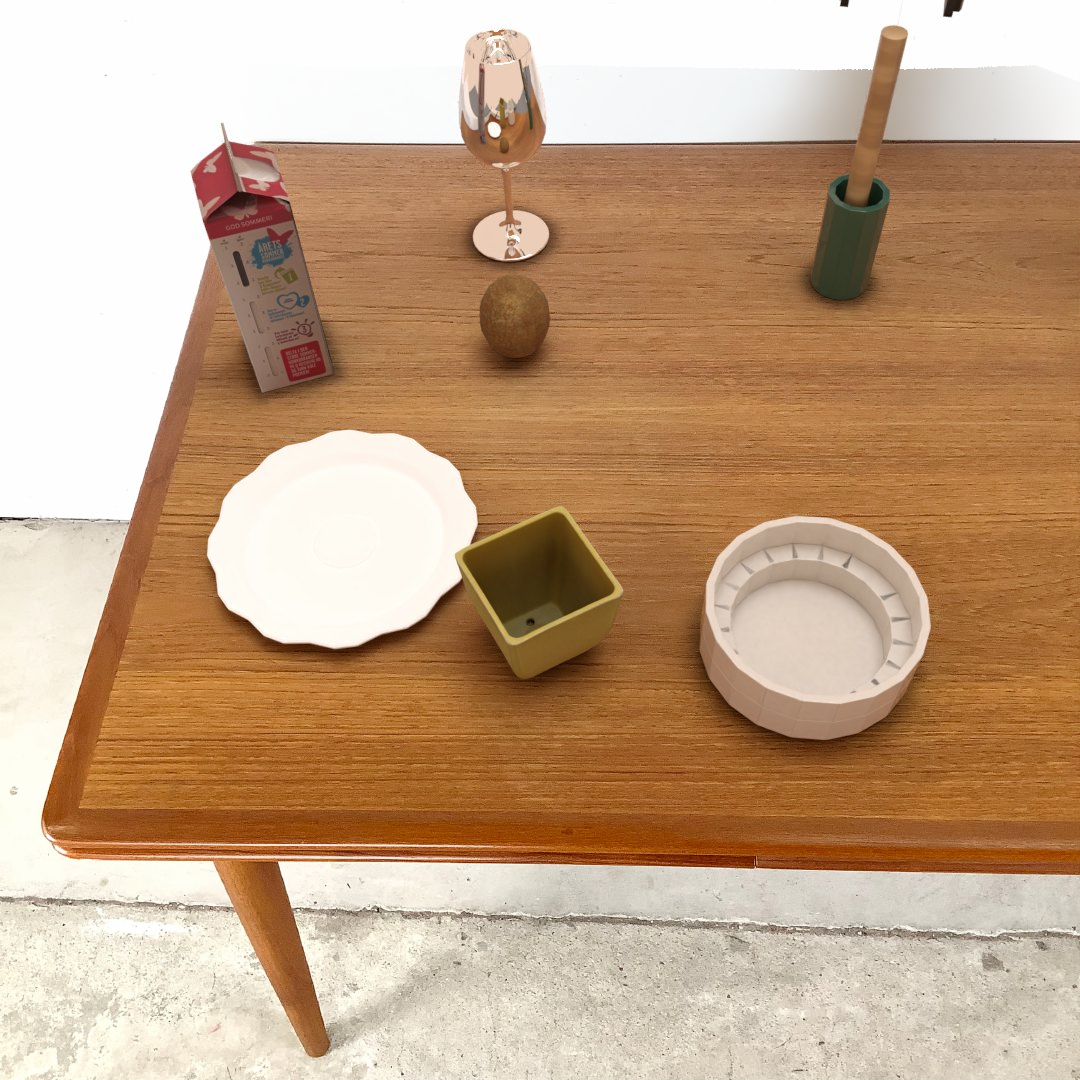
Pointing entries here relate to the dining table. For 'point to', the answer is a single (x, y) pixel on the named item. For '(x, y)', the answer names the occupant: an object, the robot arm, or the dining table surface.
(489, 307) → the fruit
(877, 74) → the stirring stick
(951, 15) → the robot arm
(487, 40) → the wineglass
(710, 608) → the bowl
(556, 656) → the flower pot
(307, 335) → the juice carton
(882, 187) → the holder
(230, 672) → the dining table surface
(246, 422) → the dining table surface
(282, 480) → the plate
